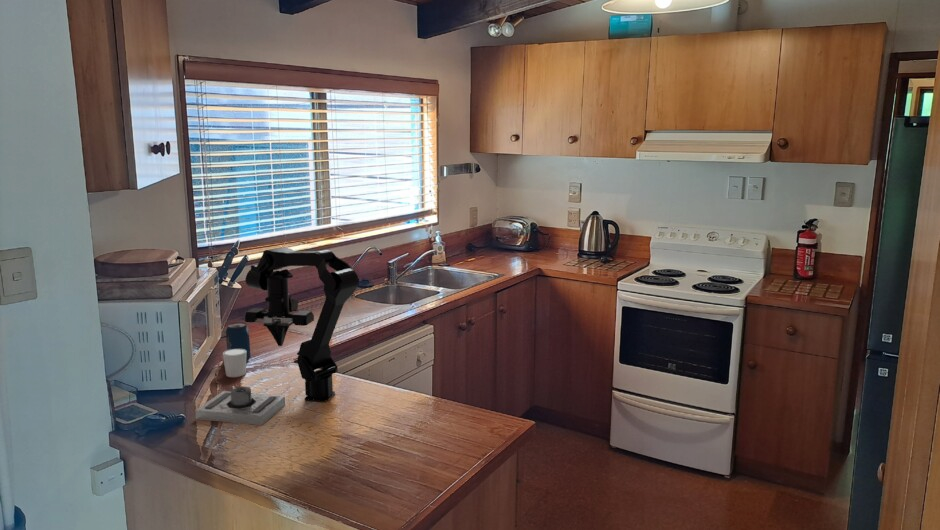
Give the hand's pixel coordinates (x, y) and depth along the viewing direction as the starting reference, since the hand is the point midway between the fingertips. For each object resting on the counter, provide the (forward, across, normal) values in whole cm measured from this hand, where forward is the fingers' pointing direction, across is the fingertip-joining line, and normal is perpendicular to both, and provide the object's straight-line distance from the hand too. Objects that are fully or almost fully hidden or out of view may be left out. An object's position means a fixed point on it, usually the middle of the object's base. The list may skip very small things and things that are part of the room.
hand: (280, 345), depth 193 cm
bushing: (+12, +2, +20) cm, 23 cm away
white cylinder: (+12, +18, -6) cm, 23 cm away
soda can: (+12, +23, -17) cm, 31 cm away
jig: (+12, +2, +20) cm, 23 cm away
